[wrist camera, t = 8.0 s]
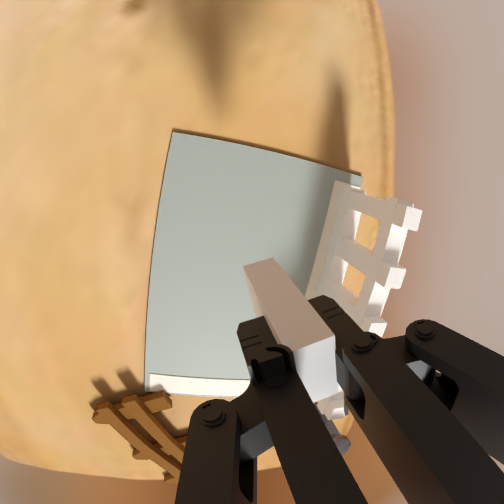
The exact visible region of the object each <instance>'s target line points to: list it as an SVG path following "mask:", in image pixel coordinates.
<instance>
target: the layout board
mask: <svg viewBox="0 0 504 504" xmlns="http://www.w3.org/2000/svg"><path fill="white" fill-rule="evenodd" d="M362 181H363V177H361V176H358V175H355V174H352V173H348V172H345V171H342V170H339V169H335V168H332V167H329V166H325V165H322V164H318V163H315V162H311V161H307V160H304V159H300V158H296V157H292V156H288V155H284V154H280V153H276V152H272V151H268V150H264V149H259V148H255V147H250V146H246V145H241V144H236V143H232V142H227V141H222V140H216V139H211V138H206V137H200V136H194V135H188V134H182V133H176V132H173V133H172V138H171V143H170V148H169V153H168V158H167V163H166V168H165V174H164V179H163V185H162V191H161V197H160V204H159V210H158V217H157V224H156V231H155V239H154V247H153V256H152V265H151V275H150V286H149V297H148V311H147V327H146V349H145V391H146V392H159V391H162V390H164V391H165V393H166V394H176V395H190V396H208V397H239V396H240V395H241V394H243V393H244V392H245V391H246V389H247V388H248V386H249V384H250V375H249V372H248V369H247V364H246V361H245V358H244V355H243V352H242V349H241V345H240V342H239V339H238V336H237V333H236V332H237V329H238V325H239V323H241V322H245V321H248V320H251V319H254V318H257V317H256V314H255V311H254V307H253V304H252V300H251V296H250V292H249V288H248V285H247V281H246V277H245V273H244V269H243V266H245V265H248V264H252V263H255V262H258V261H262V260H265V259H268V258H272V257H273V258H274V259H275V260H276V261H277V263H278V264H279V265H280V267H281V268H282V269H283V270H284V272H285V273H286V274H287V275H288V277H289V278H290V279H291V280H292V282H293V283H294V284H295V285H296V287H297V288H298V289H299V290H300V292H301V293H302V294H303V295H304V297H305V298H306V299H307V300H309V299H312V298H315V297H316V293H317V291H316V290H315V289H316V285H317V281H318V278H319V276H321V275H322V272H323V268H324V264H325V261H326V257H327V253H328V249H327V248H326V247H327V243H328V240H329V235H330V233H333V229H334V225H335V221H336V217H337V212H338V208H339V205H338V204H337V202H338V197H339V193H340V189H343V186H348V187H352V188H356V189H359V190H361V186H362Z"/></svg>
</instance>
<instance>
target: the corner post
mask: <svg viewBox="0 0 504 504" xmlns="http://www.w3.org/2000/svg"><path fill="white" fill-rule="evenodd" d="M317 404H318V402H314V405H315V407H316V409H317V411H318V413H319V414H320V416H321V418H322V420H323V422H324V424H325V426H326V428H327V429H328V431H329V433H330V435H331V437H332V439H333V441H334V442H335V444H336V446H337V448H338V450H339V452H340V453H341V455H343V454H344V453H345V452H346V451H347V450H348V449H349V448H350V446H351V442H350V441H349V439H348V437H347V436H345V435H340V433H339V431H338V430H337V428H336V426H335V425H334V423H333V421H332V420H328V419H327V417H326V415H325V414H323V415H322V414H321V412H320V410H319V409H318V407H317Z"/></svg>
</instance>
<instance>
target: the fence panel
mask: <svg viewBox="0 0 504 504" xmlns="http://www.w3.org/2000/svg"><path fill="white" fill-rule="evenodd" d="M365 194H366V191H363V190H359V189H356V188H352V187H348V186H343V189H340V193H339V197H338V202H337V204H338V205H339V208H338V212H337V217H336V221H335V225H334V229H333V233H330V235H329V240H328V243H327V247H326V248H327V249H328V253H327V257H326V261H325V264H324V268H323V272H322V275H321V276H319V278H318V281H317V285H316V289H315V290H316V291H317V293H316V297H318V296H321V295H325V296H328V297H330V298H332V299H334V300H335V301H336V302H337V303H338V304H339V306H340V307H341V308H342V309H343V310H344V311H345V313H347V314H348V315H349V316H350V317H351V318H352V319H353V320H354V322H355V323H356V324H357V325H358V326H359V327H360V328H361V329H362V330H363V331H364V332H365V331H368V332H372V333H376V334H377V335H378V336H380V337H381V338H382V335H383V333H384V331H385V328H386V326H387V322H386V321H385V320H384V319H382V318H381V317H380V316H381V314H382V311H383V308H384V305H385V302H386V300H387V297H388V294H389V291H390V288H397V289H400V287H401V284H402V281H403V278H404V275H405V272H406V269H405V268H403V267H401V266H400V265H398V263H399V260H400V255H401V253H402V249H403V246H404V242H405V239H406V235H407V231H408V229H409V230H413V231H418V227H419V223H420V219H421V215H422V210H419V209H415V208H413V207H414V204H413V203H410V202H407V201H404V200H401V199H398V198H394V197H390V196H387V198H386V200H384V199H380V198H377V197H373V196H369V195H365ZM361 213H364V214H367V215H369V216H372V217H375V218H378V219H380V220H381V223H380V227H379V231H378V235H377V238H376V242H375V246H374V249H373V251H372V250H371V249H369V248H367V247H365V246H363V245H361V244H359V243H358V242H356V241H354V240H355V236H356V232H357V228H358V224H359V220H360V216H361ZM348 263H349V264H351V265H352V266H354V267H355V268H357V269H358V270H359V271H361V272H362V273H364V274H365V275H366V277H365V280H364V283H363V286H362V290H361V293H360V296H359V298H358V297H356V296H355V295H354V294H353V293H352V292H350V291H349V290H348V289H347V288H346V287H344V286H343V285H342V283H343V279H344V276H345V272H346V269H347V265H348ZM317 402H318V404H317V407H318V409H319V410H320V412H321V414H322V415H323V414H325V415H326V417H327V419H328V420H333V419H339V418H344V416H345V412H344V391H343V390H342V388H341V387H340V385H339V384H338V393H337V394H334V395H332V396H329V397H327V398H324V399H322V400H319V401H317Z"/></svg>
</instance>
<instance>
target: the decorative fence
mask: <svg viewBox="0 0 504 504" xmlns="http://www.w3.org/2000/svg"><path fill="white" fill-rule="evenodd" d="M169 408H172V400H171V399H170V398H169V396H168V395H167V394H166V393H165V391H164V390H162V391H159V392H155V393H152V394H149V395H145V396H142V397H139V398H138V397H137V395H136V394H134V395H130V396H127V397H123V398H122V402H121V403H117V404H113V405H112V404H111V403H110V402H105V403H101V404H97V409H96V411H95V412H94V413H93V417H92V420H93V421H94V422H95V423H98V424H110V425H111V426H112V427H113V428H114V429H115V430H116V431H117V432H118V433H119V434H120V435H121V436H122V437H124V438H125V439H126V440H127V441H128V442H129V443H130V444H131V445H132V446H133V447H135V448H136V449H135V450H133V456H132V457H134V458H135V459H138V460H148V459H151V460H152V461H153V462H155V463H156V464H158V465H159V466H160V467H162V468H163V469H165V470H166V471H168V472H169V473H170V474H168V475H166V476H164V481H165V482H166V483H167V484H169V483H178V482H179V476H180V471H181V467H180V466H179V465H178V464H177V463H176V462H175V461H173V460H172V459H171V458H169V457H168V456H167V455H172V456H174V457H175V458H176V459H177V460H178V461H179V462H180V463H182V460H183V455H184V450H185V444H186V439H187V436H183V437H179V438H176V439H174V438H173V437H172V436H171V435H170V434H169V433H168V432H167V431H166V430H165V428H164V427H163V426H162V425H161V424H160V423H159V422H158V421H157V419H156V418H155V417H154V416H153V415H152V414H151V413H155V412H159V411H162V410H166V409H169ZM132 418H135V419H136V420H137V421H138V422H139V423H140V425H141V426H142V427H143V428H144V429H145V430H146V431H147V432H148V433H149V434H150V435H151V436H152V437H153V438H154V439H155V440H156V441H157V442H158V443H155V444H151V443H150V442H149V441H148V440H146V439H145V438H144V437H143V436H142V435H141V434H140V433H139V432H138V431H137V430H136V429H135V428H134V427H133V426H132V425H131V424H130V423H129V422H128V421H127V420H128V419H132Z"/></svg>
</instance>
